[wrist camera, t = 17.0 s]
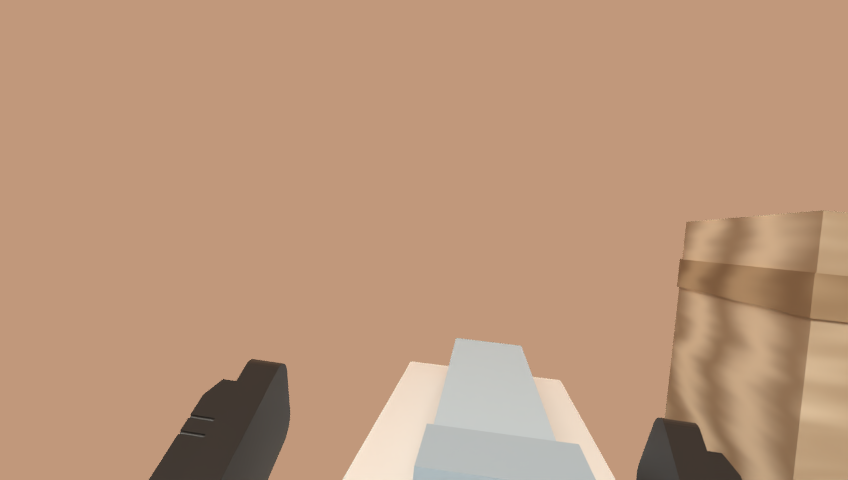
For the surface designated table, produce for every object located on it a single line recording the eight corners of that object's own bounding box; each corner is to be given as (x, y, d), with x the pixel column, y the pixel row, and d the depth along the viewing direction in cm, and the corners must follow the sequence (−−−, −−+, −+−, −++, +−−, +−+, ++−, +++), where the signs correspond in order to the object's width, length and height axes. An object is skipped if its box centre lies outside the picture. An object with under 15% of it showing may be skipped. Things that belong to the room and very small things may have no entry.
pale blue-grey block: (451, 378, 37) (458, 318, 37) (516, 386, 36) (523, 326, 36) (396, 635, 13) (414, 466, 13) (583, 666, 13) (601, 492, 13)
